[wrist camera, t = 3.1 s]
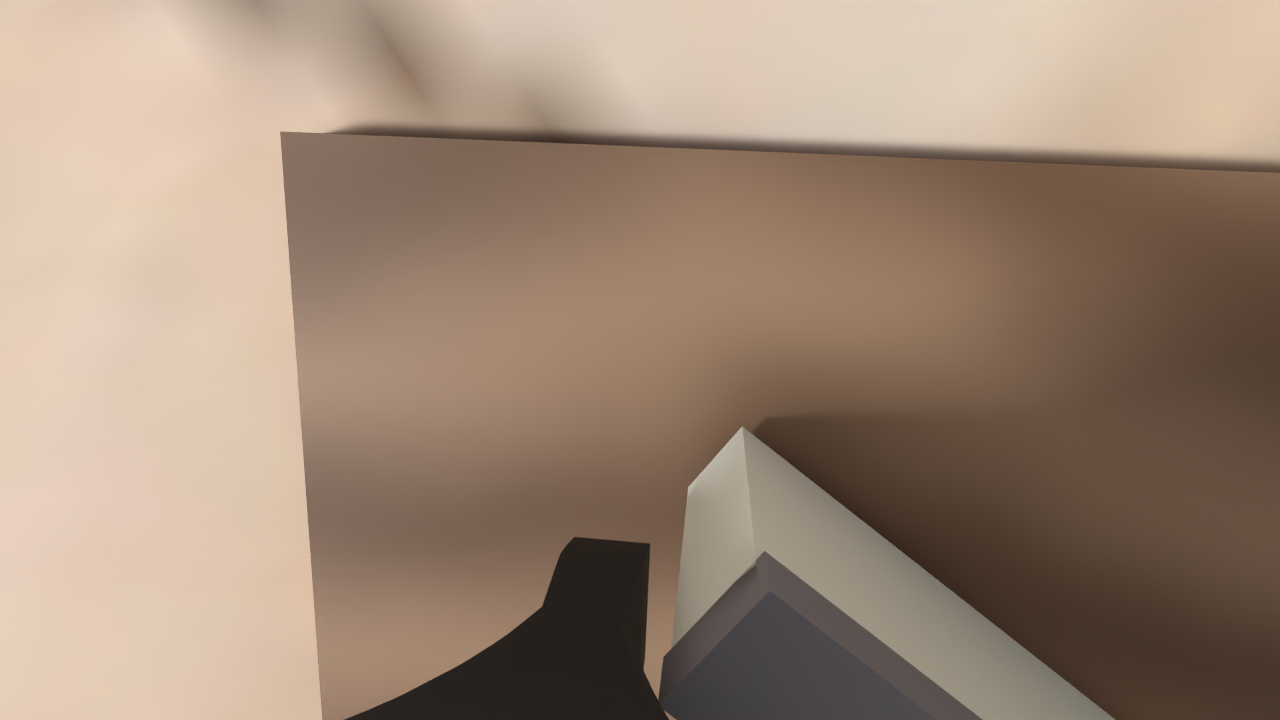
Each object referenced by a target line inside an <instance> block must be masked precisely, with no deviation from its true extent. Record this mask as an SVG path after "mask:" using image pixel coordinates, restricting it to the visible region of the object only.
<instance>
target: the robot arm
mask: <svg viewBox="0 0 1280 720" xmlns="http://www.w3.org/2000/svg"><path fill="white" fill-rule="evenodd" d="M649 562H650V543H639V542H628V541H617V540H605V539H594V538H582V537H574V538H573V539H572V540H571V541H570V542H569V543H568V544H567V545H566V547H565V548H564V549H563V551H562V552H561V553H560V556H559V559H558V562H557V564H556V567H555V570H554V573H553V576H552V579H551V582H550V585H549V588H548V590H547V593H546V596H545V599H544V602H543V605H542V607H541V608H540V609H538V610H537V611H536V612H535V613H533V614H532V615H531V616H530V617H528V618H527V619H526V620H525V621H523V622H522V623H521V624H520V625H518V626H517V627H516V628H515V629H513V630H512V631H511V632H510V633H508V634H507V635H505V636H504V637H503V638H501V639H500V640H498V641H497V642H495V643H494V644H492V645H491V646H489V647H488V648H486V649H484V650H483V651H481V652H480V653H478V654H476V655H475V656H473V657H472V658H470V659H469V660H467V661H465V662H463V663H462V664H460V665H458V666H457V667H455V668H453V669H451V670H449V671H447V672H445V673H443V674H441V675H439V676H437V677H436V678H434V679H432V680H430V681H428V682H426V683H424V684H422V685H420V686H418V687H416V688H414V689H412V690H411V691H409V692H407V693H405V694H403V695H401V696H398V697H396V698H394V699H392V700H390V701H387V702H385V703H383V704H380V705H378V706H376V707H374V708H371V709H369V710H367V711H364V712H362V713H359V714H357V715H354V716H352V717H349V718H347V719H344V720H669V718H668V717H667V715H666V713H665V712H664V710H663V708H662V706H661V704H660V702H659V701H658V699H657V697H656V695H655V693H654V691H653V689H652V687H651V685H650V683H649V681H648V679H647V677H646V675H645V673H644V662H645V648H646V626H647V605H648V583H649Z"/></svg>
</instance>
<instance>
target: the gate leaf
mask: <svg viewBox="0 0 1280 720" xmlns="http://www.w3.org/2000/svg"><path fill="white" fill-rule="evenodd" d="M658 701H659V702H660V704H661V706H662V708H663V710H664V711H666V712H667V713H668V714H670V715H671V716H672V717H674V718H675V719H676V720H1115V719H1114V718H1113V717H1111V716H1110V715H1109V714H1108V713H1106V712H1105V711H1104V710H1103V709H1101V708H1100V707H1099V706H1097V705H1096V704H1095V703H1094V702H1092V701H1091V700H1090V699H1089V698H1087V697H1086V696H1085V695H1083V694H1082V693H1081V692H1080V691H1078V690H1077V689H1076V688H1075V687H1073V686H1072V685H1071V684H1069V683H1068V682H1067V681H1066V680H1064V679H1063V678H1062V677H1061V676H1059V675H1058V674H1057V673H1055V672H1054V671H1053V670H1052V669H1050V668H1049V667H1048V666H1047V665H1045V664H1044V663H1043V662H1041V661H1040V660H1039V659H1038V658H1036V657H1035V656H1034V655H1033V654H1031V653H1030V652H1029V651H1027V650H1026V649H1025V648H1024V647H1022V646H1021V645H1020V644H1019V643H1017V642H1016V641H1015V640H1013V639H1012V638H1011V637H1010V636H1008V635H1007V634H1006V633H1005V632H1003V631H1002V630H1001V629H999V628H998V627H997V626H996V625H994V624H993V623H992V622H991V621H989V620H988V619H987V618H986V617H984V616H983V615H982V614H980V613H979V612H978V611H977V610H975V609H974V608H973V607H972V606H970V605H969V604H968V603H966V602H965V601H964V600H963V599H961V598H960V597H959V596H958V595H956V594H955V593H954V592H952V591H951V590H950V589H949V588H947V587H946V586H945V585H944V584H942V583H941V582H940V581H938V580H937V579H936V578H935V577H933V576H932V575H931V574H930V573H928V572H927V571H926V570H924V569H923V568H922V567H921V566H919V565H918V564H917V563H916V562H914V561H913V560H912V559H910V558H909V557H908V556H907V555H905V554H904V553H903V552H902V551H900V550H899V549H898V548H896V547H895V546H894V545H893V544H891V543H890V542H889V541H888V540H886V539H885V538H884V537H882V536H881V535H880V534H879V533H877V532H876V531H875V530H874V529H872V528H871V527H870V526H868V525H867V524H866V523H865V522H863V521H862V520H861V519H860V518H858V517H857V516H856V515H854V514H853V513H852V512H851V511H849V510H848V509H847V508H846V507H844V506H843V505H842V504H840V503H839V502H838V501H837V500H835V499H834V498H833V497H832V496H830V495H829V494H828V493H827V492H825V491H824V490H823V489H821V488H820V487H819V486H818V485H816V484H815V483H814V482H813V481H811V480H810V479H809V478H807V477H806V476H805V475H804V474H802V473H801V472H800V471H799V470H797V469H796V468H795V467H793V466H792V465H791V464H790V463H788V462H787V461H786V460H785V459H783V458H782V457H781V456H779V455H778V454H777V453H776V452H774V451H773V450H772V449H771V448H769V447H768V446H767V445H765V444H764V443H763V442H762V441H760V440H759V439H758V438H757V437H755V436H754V435H753V434H751V433H750V432H749V431H748V430H746V429H745V428H744V427H743V426H742V427H741V428H740V429H739V431H738V432H737V433H736V434H735V435H734V436H733V437H732V438H731V440H730V441H729V442H728V443H727V444H726V445H725V446H724V447H723V449H722V450H721V451H720V452H719V453H718V454H717V455H716V457H715V458H714V459H713V460H712V461H711V462H710V463H709V464H708V466H707V467H706V468H705V469H704V470H703V471H702V472H701V473H700V475H699V476H698V477H697V478H696V479H695V480H694V481H693V483H692V484H691V485H690V486H689V487H688V494H687V504H686V513H685V523H684V533H683V542H682V552H681V562H680V571H679V581H678V590H677V600H676V610H675V619H674V629H673V638H672V648H671V650H670V651H669V652H668V653H667V654H666V655H665V656H664V657H663V665H662V673H661V681H660V690H659V698H658Z"/></svg>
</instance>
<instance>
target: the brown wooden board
mask: <svg viewBox="0 0 1280 720" xmlns="http://www.w3.org/2000/svg"><path fill="white" fill-rule="evenodd" d="M280 134H281V148H282V162H283V176H284V190H285V204H286V217H287V231H288V245H289V259H290V273H291V287H292V301H293V315H294V329H295V343H296V357H297V371H298V385H299V399H300V413H301V427H302V441H303V455H304V468H305V482H306V496H307V510H308V524H309V538H310V552H311V566H312V580H313V594H314V608H315V622H316V636H317V650H318V664H319V678H320V692H321V705H322V719H323V720H344V719H347V718H349V717H352V716H354V715H357V714H359V713H362V712H364V711H367V710H369V709H371V708H374V707H376V706H378V705H380V704H383V703H385V702H387V701H390V700H392V699H394V698H396V697H398V696H401V695H403V694H405V693H407V692H409V691H411V690H412V689H414V688H416V687H418V686H420V685H422V684H424V683H426V682H428V681H430V680H432V679H434V678H436V677H437V676H439V675H441V674H443V673H445V672H447V671H449V670H451V669H453V668H455V667H457V666H458V665H460V664H462V663H463V662H465V661H467V660H469V659H470V658H472V657H473V656H475V655H476V654H478V653H480V652H481V651H483V650H484V649H486V648H488V647H489V646H491V645H492V644H494V643H495V642H497V641H498V640H500V639H501V638H503V637H504V636H505V635H507V634H508V633H510V632H511V631H512V630H513V629H515V628H516V627H517V626H518V625H520V624H521V623H522V622H523V621H525V620H526V619H527V618H528V617H530V616H531V615H532V614H533V613H535V612H536V611H537V610H538V609H540V608H541V607H542V605H543V602H544V599H545V596H546V593H547V590H548V588H549V585H550V582H551V579H552V576H553V573H554V570H555V567H556V564H557V562H558V559H559V556H560V553H561V552H562V551H563V549H564V548H565V547H566V545H567V544H568V543H569V542H570V541H571V540H572V539H573V538H574V537H582V538H594V539H605V540H617V541H628V542H639V543H650V562H649V583H648V605H647V626H646V648H645V662H644V673H645V675H646V677H647V679H648V681H649V683H650V685H651V687H652V689H653V691H654V693H655V695H656V697H657V699H658V698H659V690H660V681H661V673H662V665H663V657H664V656H665V655H666V654H667V653H668V652H669V651H670V650H671V648H672V638H673V629H674V619H675V610H676V600H677V590H678V581H679V571H680V562H681V552H682V542H683V533H684V523H685V513H686V504H687V494H688V487H689V486H690V485H691V484H692V483H693V481H694V480H695V479H696V478H697V477H698V476H699V475H700V473H701V472H702V471H703V470H704V469H705V468H706V467H707V466H708V464H709V463H710V462H711V461H712V460H713V459H714V458H715V457H716V455H717V454H718V453H719V452H720V451H721V450H722V449H723V447H724V446H725V445H726V444H727V443H728V442H729V441H730V440H731V438H732V437H733V436H734V435H735V434H736V433H737V432H738V431H739V429H740V428H741V427H742V426H743V427H744V428H745V429H746V430H748V431H749V432H750V433H751V434H753V435H754V436H755V437H757V438H758V439H759V440H760V441H762V442H763V443H764V444H765V445H767V446H768V447H769V448H771V449H772V450H773V451H774V452H776V453H777V454H778V455H779V456H781V457H782V458H783V459H785V460H786V461H787V462H788V463H790V464H791V465H792V466H793V467H795V468H796V469H797V470H799V471H800V472H801V473H802V474H804V475H805V476H806V477H807V478H809V479H810V480H811V481H813V482H814V483H815V484H816V485H818V486H819V487H820V488H821V489H823V490H824V491H825V492H827V493H828V494H829V495H830V496H832V497H833V498H834V499H835V500H837V501H838V502H839V503H840V504H842V505H843V506H844V507H846V508H847V509H848V510H849V511H851V512H852V513H853V514H854V515H856V516H857V517H858V518H860V519H861V520H862V521H863V522H865V523H866V524H867V525H868V526H870V527H871V528H872V529H874V530H875V531H876V532H877V533H879V534H880V535H881V536H882V537H884V538H885V539H886V540H888V541H889V542H890V543H891V544H893V545H894V546H895V547H896V548H898V549H899V550H900V551H902V552H903V553H904V554H905V555H907V556H908V557H909V558H910V559H912V560H913V561H914V562H916V563H917V564H918V565H919V566H921V567H922V568H923V569H924V570H926V571H927V572H928V573H930V574H931V575H932V576H933V577H935V578H936V579H937V580H938V581H940V582H941V583H942V584H944V585H945V586H946V587H947V588H949V589H950V590H951V591H952V592H954V593H955V594H956V595H958V596H959V597H960V598H961V599H963V600H964V601H965V602H966V603H968V604H969V605H970V606H972V607H973V608H974V609H975V610H977V611H978V612H979V613H980V614H982V615H983V616H984V617H986V618H987V619H988V620H989V621H991V622H992V623H993V624H994V625H996V626H997V627H998V628H999V629H1001V630H1002V631H1003V632H1005V633H1006V634H1007V635H1008V636H1010V637H1011V638H1012V639H1013V640H1015V641H1016V642H1017V643H1019V644H1020V645H1021V646H1022V647H1024V648H1025V649H1026V650H1027V651H1029V652H1030V653H1031V654H1033V655H1034V656H1035V657H1036V658H1038V659H1039V660H1040V661H1041V662H1043V663H1044V664H1045V665H1047V666H1048V667H1049V668H1050V669H1052V670H1053V671H1054V672H1055V673H1057V674H1058V675H1059V676H1061V677H1062V678H1063V679H1064V680H1066V681H1067V682H1068V683H1069V684H1071V685H1072V686H1073V687H1075V688H1076V689H1077V690H1078V691H1080V692H1081V693H1082V694H1083V695H1085V696H1086V697H1087V698H1089V699H1090V700H1091V701H1092V702H1094V703H1095V704H1096V705H1097V706H1099V707H1100V708H1101V709H1103V710H1104V711H1105V712H1106V713H1108V714H1109V715H1110V716H1111V717H1113V718H1114V719H1115V720H1280V173H1271V172H1247V171H1222V170H1198V169H1174V168H1150V167H1125V166H1101V165H1077V164H1053V163H1029V162H1004V161H980V160H956V159H932V158H907V157H883V156H859V155H835V154H810V153H786V152H762V151H738V150H714V149H689V148H665V147H641V146H617V145H592V144H568V143H544V142H520V141H495V140H471V139H447V138H423V137H399V136H374V135H350V134H326V133H302V132H280ZM664 712H665V713H666V715H667V717H668V718H669V720H676V719H675V718H674V717H672V716H671V715H670V714H668V713H667V712H666V711H664Z"/></svg>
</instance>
